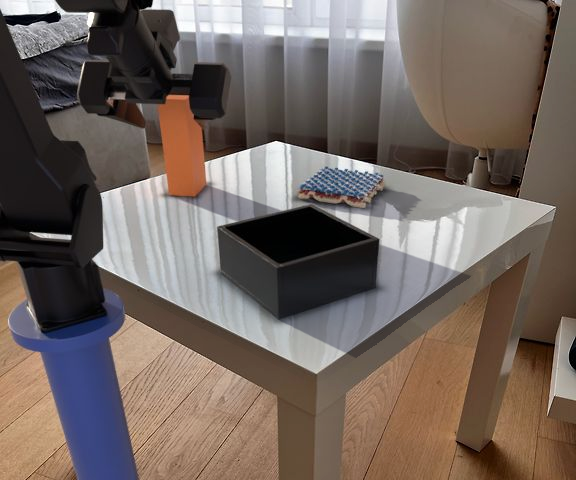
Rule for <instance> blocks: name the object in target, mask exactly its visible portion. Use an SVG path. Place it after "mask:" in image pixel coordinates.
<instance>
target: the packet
mask: <svg viewBox="0 0 576 480" xmlns="http://www.w3.org/2000/svg"><path fill="white" fill-rule="evenodd" d="M157 110H158V111H157V112H158V118H159V127H160V135H161V143H162V151H163V157H164V167H165V175H166V183H167V190H168V196H174V197H175V196H177V197H192V198H194V197H197V195H198V194H199V193H200V192H201V191H202V190H203V189H204V188H205V187H206V186H207V184H208V183H207V174H206V173H207V172H206V162H205V151H204V150H205V149H204V139H203V129H202V128H201V127H200V126H199V125H198V123H197V122H196V121H195V120H194V119H193V117H194V114H192V112H191V110H190V105H189V95H168V96H167V98H166V103H165V104H157Z"/></svg>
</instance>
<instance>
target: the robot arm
mask: <svg viewBox="0 0 576 480" xmlns="http://www.w3.org/2000/svg"><path fill="white" fill-rule="evenodd" d="M54 1H55V2H56V5H58V7H59V8H60V9H61V10H62V11H64V12H65V13H69V14H73V13H74V14H88V15H87V21H86V27H87V30H88V35H87V40H86V49H87V54H88V55H89V56H90V57H106V59H88V60H85V61H84V62H83V64H82V66H81V70H80V71H81V72H80V77H79V80H78V87H77V92H76V98H77V102H78V103H79V105H80V106H81V107H82V108H83V110H84V112H85V113H86V114H89V115H91V114H93V115H97V116H98V117H102V118H103V117H104V118H108V119H111V120H114V121H117V122H121V123H124V124H127V125H130V126H133V127H137V128H138V129H139V128H140V129H144V130H145V129H146V124H147V121H146V119H145V117H144V114H143V113H142V111H141V110H140V108H139V106H138V105H139V104H140V105H158V104H165V103H166V98H167V96H168V95H189V105H190V110H191V112H192V114H194V117H193V119H194V120H195V121H196V122H197V123H198V125H199V126H200V127H201V128H202V131H205V132H209V131H210V126H211V122H213V121H216V120H217V119H219V120H220V119H222V118H223V117H224V116H226V113H227V107H228V101H229V94H230V90H231V89H230V88H231V82H232V74H231V72H230V69H229V68H228V66H227V65H226V62H209V61H208V62H207V61H206V62H205V61H203V62H202V61H197V62H196V63H193V65H194V66H193V68H192V73H172V69H176V67H177V62H178V59H177V56H176V54H175V52H174V51H175V49H176V47H177V44H178V42H179V41H180V40H181V35H180V32H179V28H178V24H177V19H176V16H175V12H174V11H173V10H172V9H157V8H156V9H150V8H152V7H153V5H154V0H54ZM97 180H98V179H97V176H96V174H95V172H93V170H92V168H91V166H90V162H89V160H88V155H87V151H86V150H85V148H84V147H83V145H82V144H81V143H80V141H78V140H65V139H64V140H63V139H59V138H58V137H57V136H56V135H55V134H54V133H53V131H52V128H51V126H50V123H49V121H48V119H47V117H46V114H45V112H44V109H43V107H42V105H41V103H40V100H39V98H38V96H37V92H36V90H35V88H34V85H33V83H32V81H31V79H30V76H29V73H28V71H27V69H26V66H25V64H24V62H23V59H22V57H21V55H20V52H19V50H18V48H17V45H16V42H15V41H14V38H13V35H12V33H11V31H10V28H9V26H8V23H7V21H6V19H5V16H4V14H3V12H2V9H1V8H0V262H16V267H17V269H18V270H17V271H18V273H19V276H20V280H21V283H22V287H23V290H24V294H25V297H26V300H27V301H28V302H27V303H26V308H27V310H28V312H29V313H30V315H31V317H32V318H33V320H34V322H35V323H36V325H37V326H38V328H39V330H40V331H41V333H49V332H52V331H56V330H59V329H63V328H66V327H70V326H73V325H77V324H81V323H84V322H88V321H91V320H95V319H98V318H102V317H105V316H107V310H106V309H105V307H104V306H103V305H102V304H101V303H104V302H105V296H104V291H103V288H104V286H103V282H102V281H103V280H102V276H101V272H100V268H99V265H98V264H97V262H96V261H94V258H95V257H96V256H97V255H99V253H101V251H102V250H104V210H103V206H104V205H103V199H102V195H101V192H100V190H99V188H98V186H97V184H96V181H97ZM32 233H34V234H45V235H47V234H48V235H60V236H61V235H62V236H70V239H67V238H66V239H65V238H55V237H54V238H51V237H39V236H31V234H32Z"/></svg>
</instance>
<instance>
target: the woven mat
mask: <svg viewBox="0 0 576 480" xmlns="http://www.w3.org/2000/svg"><path fill="white" fill-rule="evenodd" d="M386 184H387V183H386V180H385V179H384V175H383V174H379V172H374V174H373V173H369V171H367V170H366V171H365V172H361V171H359V170H358V169H355V170H354V171H353V170H349V168H344V170H342V169H339V167H335V168H334V169H333V168H329V166H324V167H323V168H321V169H318V171H316V172H315V173H314V174H313V175H311V176H310V177H307V179H306V180H303V183H301V184H299V187H298V190H299V191H298V196H297V197H298V199H300V200H301V199H303V200H304V199H305V200H308V199H314V200H316V201H318V202H321V203H329V204H334V205H335V204H336V205H337V204H339V203H343V204H345V203H346V204H347V205H349V206H351V207H354V208H361V209H366V206H367V203H369V204H371V202H372V198H373V197H374V196H375V195H377V191H379V192H380V191H381V192H382V191H383V190H384V186H385V185H386Z"/></svg>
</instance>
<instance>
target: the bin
mask: <svg viewBox="0 0 576 480" xmlns="http://www.w3.org/2000/svg"><path fill="white" fill-rule="evenodd" d="M216 232H217V244H218V245H217V246H218V256H219V257H218V258H219V270H220V275H222V276H223V277H224V278H226V279H227V280H228V281H229V282H231V283H232V284H233V285H234V286H235V287H237V288H238V289H240V290H241V291H242V292H243V293H244V294H246V296H248V297H249V298H250V299H252V300H253V301H255V302H256V303H257V304H258V305H260V306H261V307H262V308H263V309H265V310H266V311H267V312H268V313H270V314H271V316H273V317H275V318H276V319H277V320H281V319H284V318H287V317H290V316H293V315H296V314H300V313H303V312H305V311H309V310H313V309H315V308H318V307H321V306H324V305H327V304H330V303H333V302H337V301H339V300H342V299H345V298H348V297H351V296H355V295H358V294H361V293H364V292H367V291H370V290H373V289H376V288H377V278H378V277H377V276H378V264H379V263H378V262H379V254H380V253H379V251H380V238H379V237H376V236H375V235H373V234H371V233H369V232H367V231H365V230H363V229H361V228H359V227H357V226H355V225H353V224H351V223H350V222H347V221H345V220H344V219H342V218H340V217H338V216H336V215H334V214H332V213H330V212H328V211H327V210H325V209H322V208H321V207H318V206H316V205H315V204H313V203H310V204H305V205H301V206H298V207H297V206H296V207H294V208H293V207H292V208H289V209H285V210H281V211H277V212H272V213H268V214H263V215H260V216H255V217H251V218H247V219H242V220H239V221H234V222H230V223H226V224H222V225H217V226H216Z"/></svg>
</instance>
